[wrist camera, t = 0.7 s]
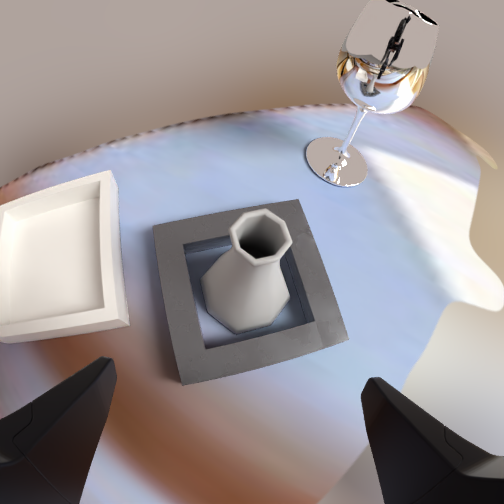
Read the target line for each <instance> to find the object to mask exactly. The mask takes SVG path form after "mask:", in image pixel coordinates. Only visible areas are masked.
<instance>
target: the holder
mask: <svg viewBox="0 0 504 504" xmlns="http://www.w3.org/2000/svg"><path fill="white" fill-rule="evenodd" d="M264 208H266V209H268V210H269V211H271V212H272V213H274V214H275V215H276V216H278V217H279V218H281V219H282V220H284V221H285V223H286V226H287V228H288V231H289V234H290V236H291V239H292V244H291V246H290V247H289V248H288V250H287V251H286V252H285V256H286V259H287V262H288V265H289V268H290V271H291V274H292V277H293V280H294V283H295V287H296V290H297V293H298V296H299V299H300V302H301V305H302V308H303V312H304V315H305V318H306V321H307V324H304V325H301V326H297V327H294V328H290V329H287V330H283V331H279V332H276V333H272V334H268V335H264V336H261V337H257V338H253V339H249V340H245V341H241V342H237V343H232V344H228V345H224V346H219V347H215V348H210V349H206V347H205V343H204V339H203V335H202V331H201V327H200V322H199V318H198V314H197V309H196V305H195V300H194V295H193V291H192V286H191V281H190V276H189V271H188V266H187V261H186V256H185V254H189V253H193V252H198V251H203V250H208V249H213V248H218V247H223V246H228V245H232V242H231V238H230V235H229V231H228V229H229V227H230V226H231V225H232V224H233V223H234V222H235V221H236V220H237V219H238V218H239V217H240V216H241V215H242V214H243V213H244V212H249V211H254V210H259V209H264ZM153 233H154V241H155V249H156V256H157V263H158V269H159V276H160V282H161V288H162V294H163V299H164V305H165V310H166V315H167V321H168V326H169V330H170V335H171V340H172V345H173V349H174V354H175V358H176V362H177V366H178V371H179V375H180V379H181V383H182V386H183V385H188V384H194V383H199V382H203V381H208V380H213V379H217V378H222V377H226V376H230V375H235V374H239V373H243V372H247V371H251V370H254V369H258V368H262V367H266V366H269V365H273V364H276V363H280V362H283V361H287V360H290V359H293V358H296V357H300V356H303V355H306V354H309V353H312V352H315V351H318V350H321V349H324V348H327V347H330V346H333V345H336V344H339V343H341V342H344V341H347V340H349V338H348V335H347V331H346V328H345V325H344V322H343V319H342V316H341V313H340V310H339V307H338V304H337V301H336V298H335V295H334V292H333V290H332V287H331V284H330V281H329V278H328V275H327V273H326V270H325V267H324V264H323V262H322V259H321V256H320V253H319V251H318V248H317V245H316V243H315V240H314V238H313V235H312V232H311V230H310V227H309V225H308V222H307V220H306V217H305V215H304V212H303V210H302V207H301V205H300V202H299V200H298V199H296V200H290V201H284V202H277V203H271V204H265V205H259V206H253V207H248V208H242V209H236V210H231V211H225V212H220V213H214V214H209V215H204V216H199V217H194V218H189V219H184V220H179V221H174V222H169V223H164V224H159V225H154V226H153Z"/></svg>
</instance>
